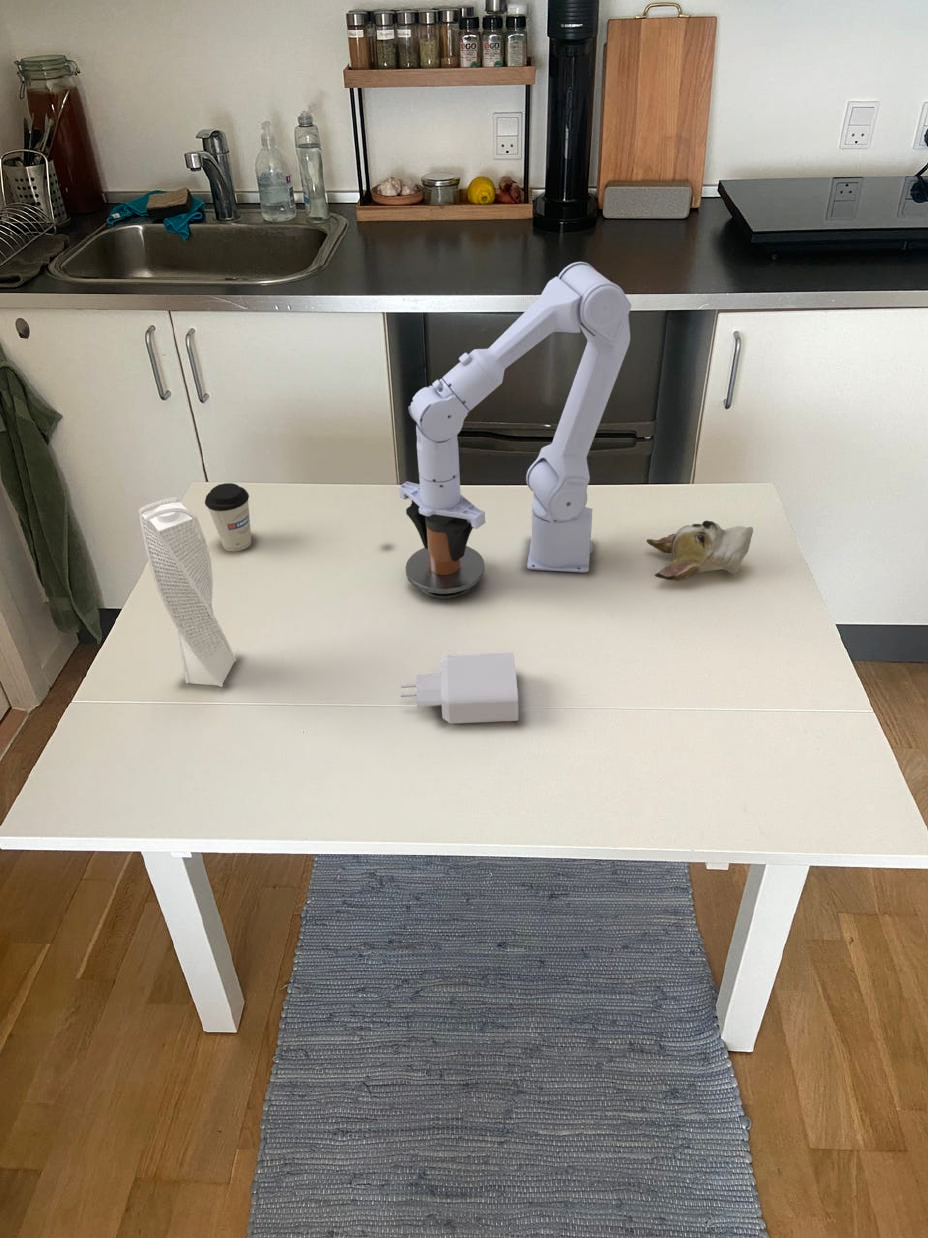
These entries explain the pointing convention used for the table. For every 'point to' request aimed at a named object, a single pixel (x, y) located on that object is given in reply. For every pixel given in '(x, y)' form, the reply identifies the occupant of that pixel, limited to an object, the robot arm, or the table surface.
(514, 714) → the charger
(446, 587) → the steel stand
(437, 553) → the spice jar
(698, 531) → the ceramic sculpture
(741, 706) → the table surface
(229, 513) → the coffee cup
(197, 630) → the skyscraper
